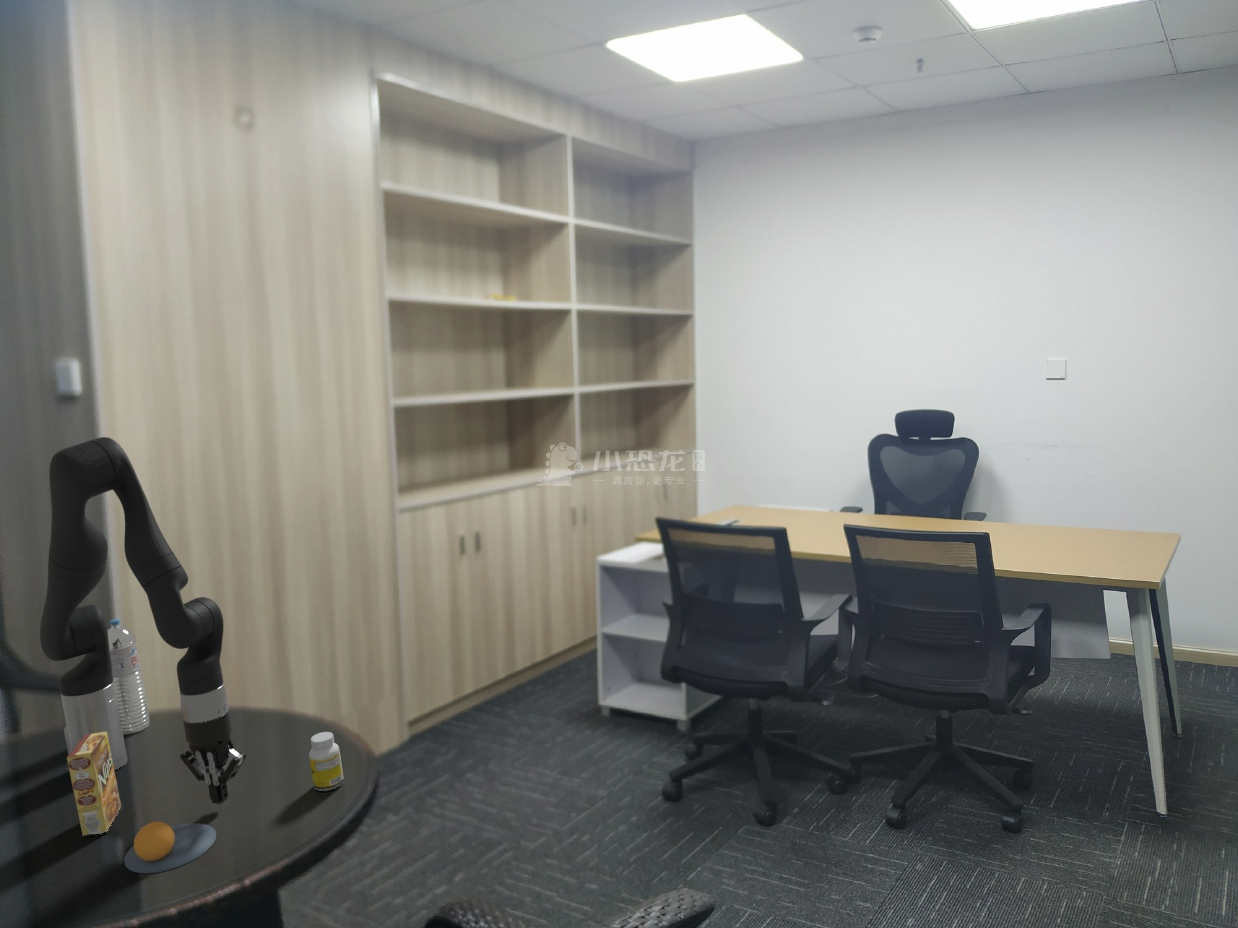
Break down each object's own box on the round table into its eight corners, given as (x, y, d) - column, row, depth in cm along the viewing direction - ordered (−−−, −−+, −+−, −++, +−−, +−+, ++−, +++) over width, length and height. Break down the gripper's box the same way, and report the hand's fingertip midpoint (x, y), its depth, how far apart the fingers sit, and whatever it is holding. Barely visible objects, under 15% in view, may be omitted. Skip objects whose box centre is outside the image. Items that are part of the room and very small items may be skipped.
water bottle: (136, 736, 199) (116, 625, 194) (108, 735, 200) (88, 625, 196) (157, 721, 205) (139, 614, 201) (131, 721, 207) (112, 614, 202)
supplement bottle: (317, 779, 174) (310, 731, 172) (346, 776, 174) (340, 728, 172) (310, 794, 168) (303, 744, 167) (340, 791, 169) (334, 741, 167)
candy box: (107, 834, 160) (92, 752, 157) (81, 838, 159) (65, 756, 157) (122, 808, 169) (108, 730, 166) (97, 812, 168) (82, 734, 165)
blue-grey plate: (104, 867, 150) (104, 866, 150) (169, 820, 163) (169, 819, 163) (173, 877, 146) (173, 876, 146) (234, 828, 159) (234, 827, 159)
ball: (118, 848, 149) (141, 812, 152) (143, 861, 153) (164, 826, 156) (143, 856, 146) (165, 820, 149) (167, 870, 150) (189, 833, 154)
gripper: (159, 718, 161) (174, 809, 164) (221, 723, 157) (236, 816, 160) (190, 699, 168) (205, 787, 171) (251, 704, 164) (264, 794, 167)
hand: (220, 801), depth 165 cm, fingers closed
